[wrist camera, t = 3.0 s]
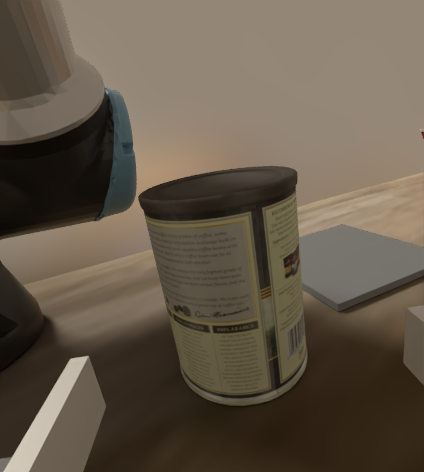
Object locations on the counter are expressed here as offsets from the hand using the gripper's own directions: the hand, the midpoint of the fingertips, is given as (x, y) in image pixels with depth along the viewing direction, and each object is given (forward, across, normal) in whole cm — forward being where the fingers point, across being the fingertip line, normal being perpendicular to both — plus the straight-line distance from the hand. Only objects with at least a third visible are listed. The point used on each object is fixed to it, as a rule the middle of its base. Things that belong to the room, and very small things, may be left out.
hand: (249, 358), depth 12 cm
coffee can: (+10, 0, -8) cm, 13 cm away
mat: (+24, +14, -8) cm, 28 cm away
